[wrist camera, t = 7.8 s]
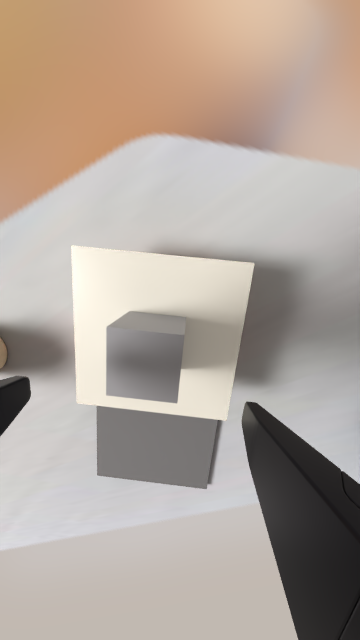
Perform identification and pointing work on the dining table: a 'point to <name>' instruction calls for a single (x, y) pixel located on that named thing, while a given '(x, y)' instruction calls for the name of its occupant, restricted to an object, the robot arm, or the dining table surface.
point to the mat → (154, 446)
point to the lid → (157, 330)
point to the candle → (2, 353)
